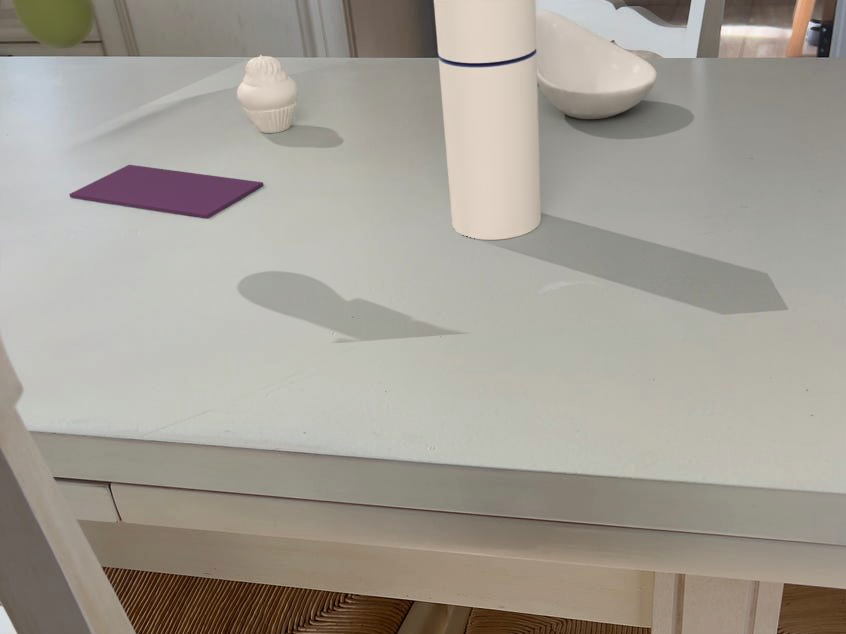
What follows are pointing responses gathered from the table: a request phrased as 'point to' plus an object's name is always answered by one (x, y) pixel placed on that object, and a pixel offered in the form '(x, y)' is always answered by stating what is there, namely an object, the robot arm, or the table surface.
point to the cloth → (167, 190)
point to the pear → (56, 21)
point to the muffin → (268, 95)
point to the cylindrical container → (490, 115)
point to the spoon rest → (587, 70)
